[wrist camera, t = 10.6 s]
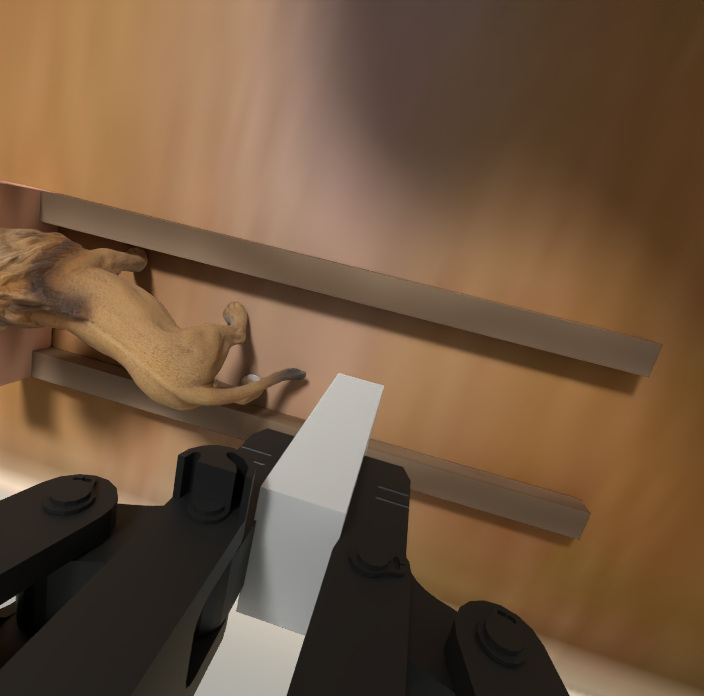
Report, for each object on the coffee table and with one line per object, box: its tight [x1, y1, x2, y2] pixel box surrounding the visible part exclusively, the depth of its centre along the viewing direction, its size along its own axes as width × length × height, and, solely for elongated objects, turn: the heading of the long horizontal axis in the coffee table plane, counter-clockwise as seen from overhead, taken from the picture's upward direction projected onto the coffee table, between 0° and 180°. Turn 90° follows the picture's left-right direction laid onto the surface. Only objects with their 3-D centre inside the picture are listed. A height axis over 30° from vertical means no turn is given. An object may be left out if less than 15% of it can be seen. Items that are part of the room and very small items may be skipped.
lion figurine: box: [0, 228, 306, 410], centre depth 18 cm, size 15×5×9 cm, turn 68°
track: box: [0, 181, 662, 540], centre depth 20 cm, size 10×32×4 cm, turn 77°
